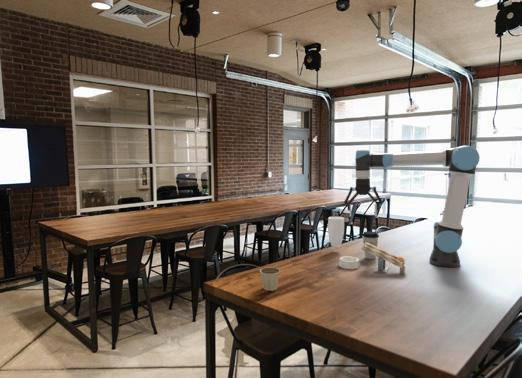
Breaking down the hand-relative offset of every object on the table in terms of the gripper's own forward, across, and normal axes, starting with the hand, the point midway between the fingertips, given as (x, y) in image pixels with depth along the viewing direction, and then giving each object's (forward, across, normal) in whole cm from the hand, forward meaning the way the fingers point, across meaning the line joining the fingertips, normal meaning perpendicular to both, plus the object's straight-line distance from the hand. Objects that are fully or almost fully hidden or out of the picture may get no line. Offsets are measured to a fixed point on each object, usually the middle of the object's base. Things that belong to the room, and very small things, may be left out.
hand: (363, 216), depth 202 cm
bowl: (+26, +8, +8) cm, 29 cm away
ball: (+20, -17, +15) cm, 31 cm away
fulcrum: (+27, -12, +14) cm, 32 cm away
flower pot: (+26, +45, +48) cm, 71 cm away
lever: (+19, -10, +10) cm, 24 cm away
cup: (+26, +15, -21) cm, 37 cm away
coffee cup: (+27, -5, -10) cm, 29 cm away
